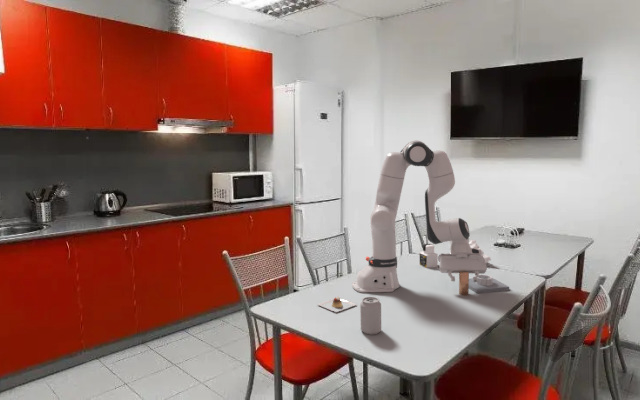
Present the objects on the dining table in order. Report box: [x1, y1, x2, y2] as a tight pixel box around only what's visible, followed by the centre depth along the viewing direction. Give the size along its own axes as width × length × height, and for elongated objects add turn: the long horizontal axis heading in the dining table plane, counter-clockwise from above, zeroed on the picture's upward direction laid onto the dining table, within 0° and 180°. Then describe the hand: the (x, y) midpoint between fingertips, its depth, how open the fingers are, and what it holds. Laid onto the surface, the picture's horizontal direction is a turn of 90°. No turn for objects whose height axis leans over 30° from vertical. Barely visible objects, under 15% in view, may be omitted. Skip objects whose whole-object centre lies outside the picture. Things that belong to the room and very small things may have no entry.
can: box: [359, 296, 382, 336], centre depth 152 cm, size 8×8×12 cm
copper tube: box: [458, 271, 470, 297], centre depth 186 cm, size 4×4×10 cm
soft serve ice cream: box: [469, 239, 492, 264], centre depth 233 cm, size 12×15×14 cm
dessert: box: [317, 295, 358, 313], centre depth 178 cm, size 12×12×5 cm
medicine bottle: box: [419, 243, 439, 269], centre depth 231 cm, size 7×7×12 cm
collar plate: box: [469, 273, 510, 294], centre depth 196 cm, size 16×15×4 cm
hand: (464, 281), depth 186 cm, fingers open, 8 cm apart
